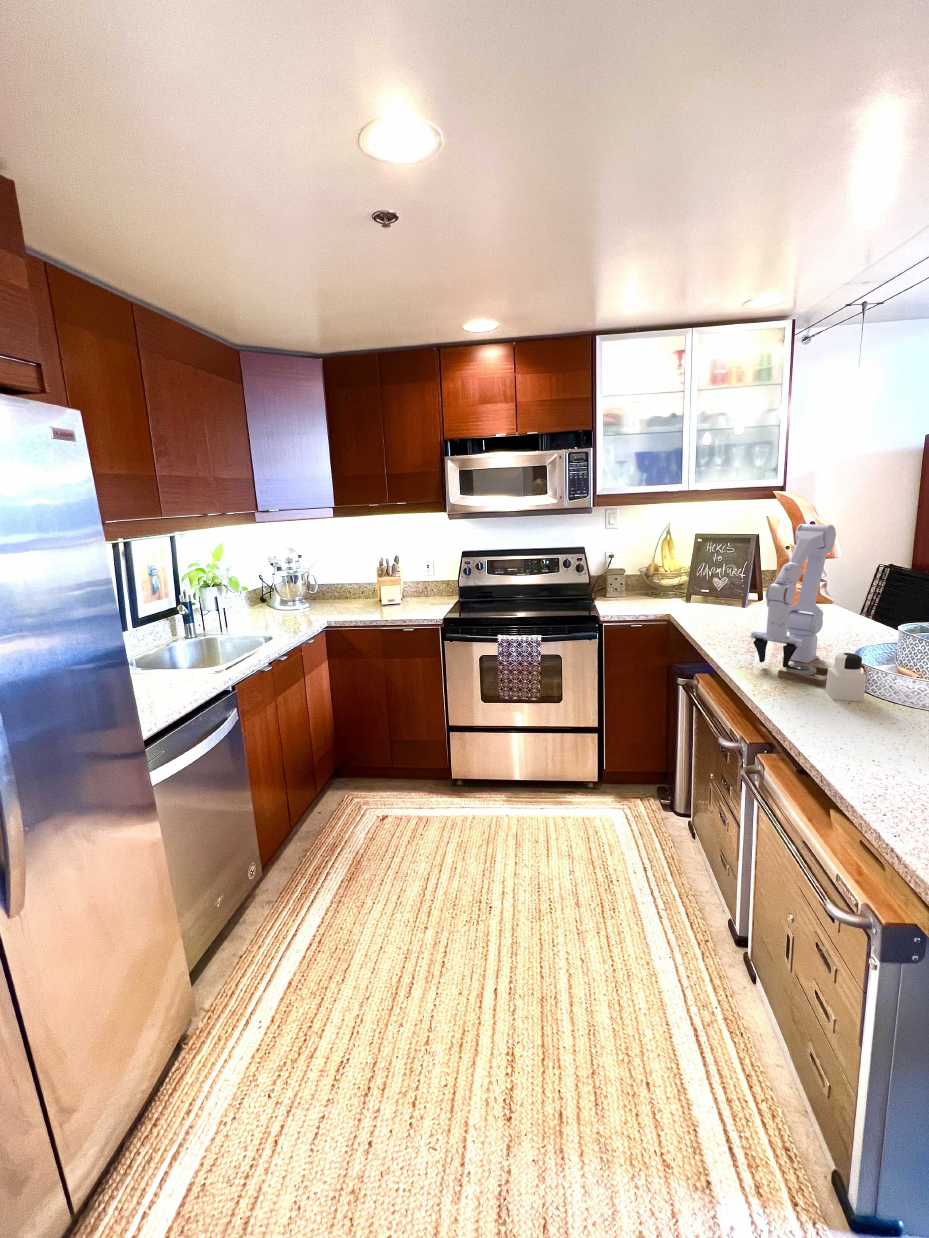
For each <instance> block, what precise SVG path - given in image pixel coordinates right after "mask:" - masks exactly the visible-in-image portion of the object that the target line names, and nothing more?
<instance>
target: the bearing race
mask: <svg viewBox="0 0 929 1238" xmlns="http://www.w3.org/2000/svg"><path fill="white" fill-rule="evenodd" d="M785 671H788V672H793V673H797V674H802V675H807V676H811V677H816V678H817V674H816V668H814V667H812V666H808V665H803V664H794V663H789V664H788V665H787V666H786V667H785Z"/></svg>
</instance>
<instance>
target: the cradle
mask: <svg viewBox="0 0 929 1238" xmlns="http://www.w3.org/2000/svg"><path fill="white" fill-rule="evenodd" d="M793 664H803V665H808V666H812V667H814V668H816V675H817V674H818V675H823V676H821V677H817V676H816V677H811V676H807V675H802V674H797V673H793V672H788V671H786V670H782V669H779V670H778V672H777V677H778V678H780V679H785V680H790V681H795V682H799V683H802V684H807V685H813V686H816V687H821V688H823V687H825V686H826V682H827V674H828V668H829V667H828V668H827V667H823V666H818V665H814V664H813V665H812V664H810V663H804V662H799V661H794V662H793Z"/></svg>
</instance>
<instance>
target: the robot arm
mask: <svg viewBox="0 0 929 1238" xmlns="http://www.w3.org/2000/svg"><path fill="white" fill-rule="evenodd" d="M794 535H795V546H794V550H793V552H792V554H791V556H790V559H789V562H787V563H785V564H783V566H782V567H781V570H780V571H779V573H778V575H777V576H776V579H775V580H774V582H773V583H771V584H769V585H768V587H767V588H766V592H765V599H766V607H767V608H768V610H767V619H766V631H765V632H761V631H752V632H750V639H754V640H753V645H754V647H755V649H756V651H757V656H758V662H759V663H761V664H762V663H765V660H766V652H767V651H766V650H767V646H768V642H773V643H778V644H785V645H782V650H783V656H781V658H782V659H783V660H782V668H786V666H787V665H789V664H790V661H794V662H799V663H804V664H810V663H811V662H812V661H813V662H814V660H816V659H818V658H819V657H820V656H819V655H817V647H818V636H817V634H818V633H819V632H821V630H822V628H823V626H824V625H823V624H824V623H823V622H824V620H823V618H824V617H823V616H824V612H823V610H822V609H821V608H820V607H819V606H818V605H817V604H816V602H817V599H818V594H819V588H820V585H821V580H822V575H823V572H824V567H825V562H826V559H827V555H828V554H829V553H831V552H833V549H834V545H835V542H836V538H837V537H836V536H837V533H836V528H835V526H834V525H833V524H813V523H812V524H810V523H808V524H806V523H800V524H799V525H798V526H797V527H796V530H795V534H794ZM806 560H807V561H806ZM805 561H806V564H805ZM803 564H805V569H804V574H803V569H802V566H803ZM802 574H803V578H802V583H801V587H800V592H799V596H798V600H797V601H796V602H795V603H792V602H793V601H794V599H795V597H796V591H797V587H796V586H797V584H798V582H799V581H800V578H801V576H802ZM788 633H789V634H788Z"/></svg>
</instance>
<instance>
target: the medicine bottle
mask: <svg viewBox="0 0 929 1238" xmlns="http://www.w3.org/2000/svg"><path fill="white" fill-rule="evenodd" d="M862 663H863V658H862V657H861V656H860V655H858V654H856V653H851V652H840V653H836V655H835V658H834V666H833V667H828V674H827V682H826V685H825V692H826V694H828V695H829V696H830V697H831V699H832V700H834V701H844V702H847V701H848V702H864V699H865V691H866V690H865V689H866V685H867V684H866V683H867V676H866V675H864V674H863V673H862V672H861V670H862Z"/></svg>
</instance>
